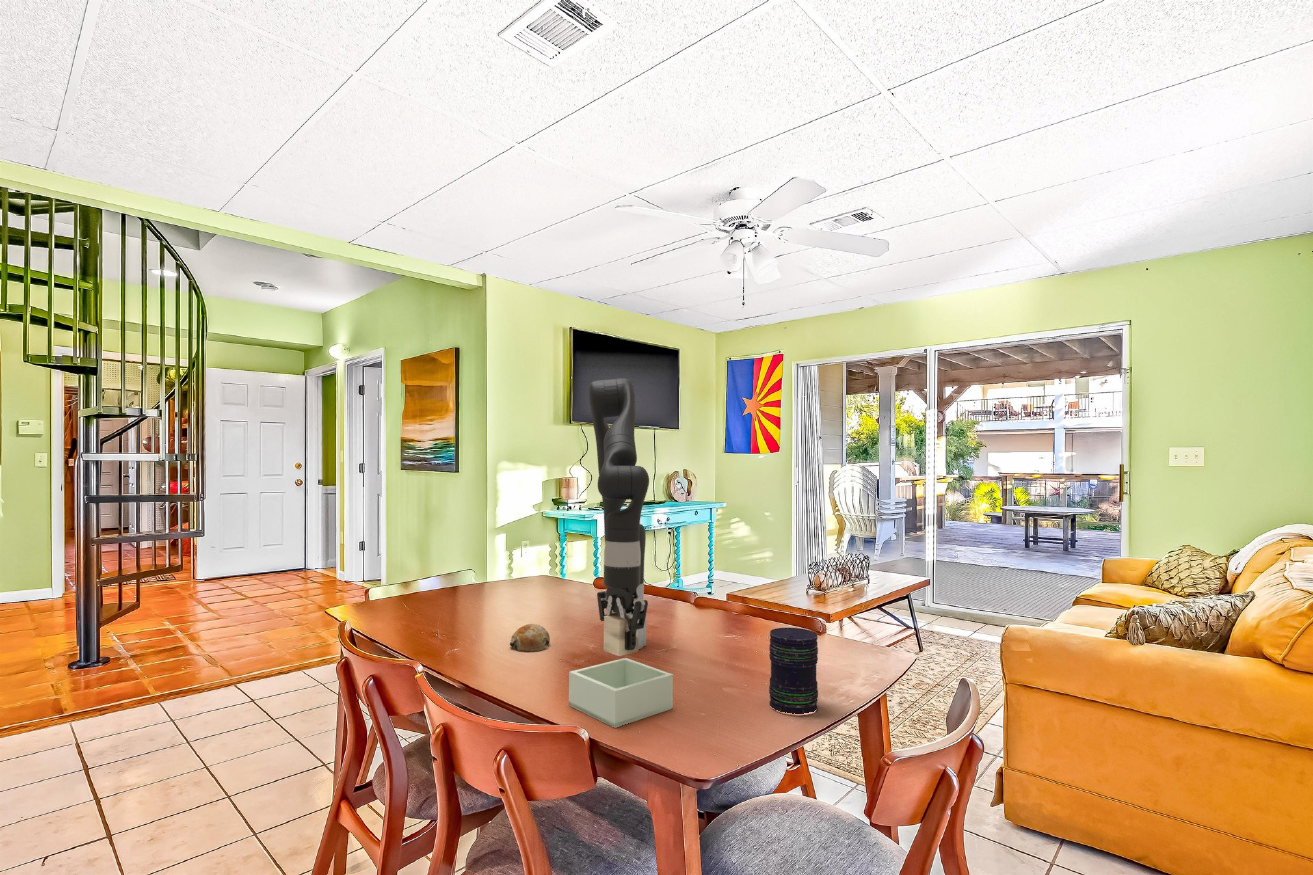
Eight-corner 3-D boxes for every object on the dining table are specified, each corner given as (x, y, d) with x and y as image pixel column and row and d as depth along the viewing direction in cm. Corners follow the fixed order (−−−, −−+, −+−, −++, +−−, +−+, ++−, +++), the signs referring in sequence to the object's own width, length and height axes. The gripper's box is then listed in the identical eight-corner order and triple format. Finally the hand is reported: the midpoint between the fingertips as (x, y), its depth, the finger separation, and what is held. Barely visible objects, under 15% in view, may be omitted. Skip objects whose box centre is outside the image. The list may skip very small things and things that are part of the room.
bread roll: (538, 666, 169) (551, 639, 169) (503, 649, 169) (516, 621, 170) (545, 655, 179) (558, 629, 179) (512, 639, 179) (525, 612, 180)
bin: (625, 689, 142) (625, 657, 143) (672, 708, 131) (672, 674, 132) (568, 705, 132) (569, 671, 132) (614, 728, 121) (615, 691, 121)
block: (622, 646, 136) (622, 612, 136) (638, 651, 132) (638, 616, 132) (603, 650, 132) (604, 616, 133) (618, 656, 129) (619, 620, 129)
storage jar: (774, 695, 139) (775, 625, 140) (821, 702, 136) (821, 630, 136) (764, 711, 130) (764, 636, 131) (813, 719, 126) (813, 642, 127)
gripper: (659, 565, 130) (658, 651, 129) (614, 557, 141) (613, 636, 140) (630, 568, 125) (629, 658, 124) (586, 560, 136) (585, 642, 135)
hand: (620, 646), depth 132 cm, fingers closed on block, 5 cm apart
